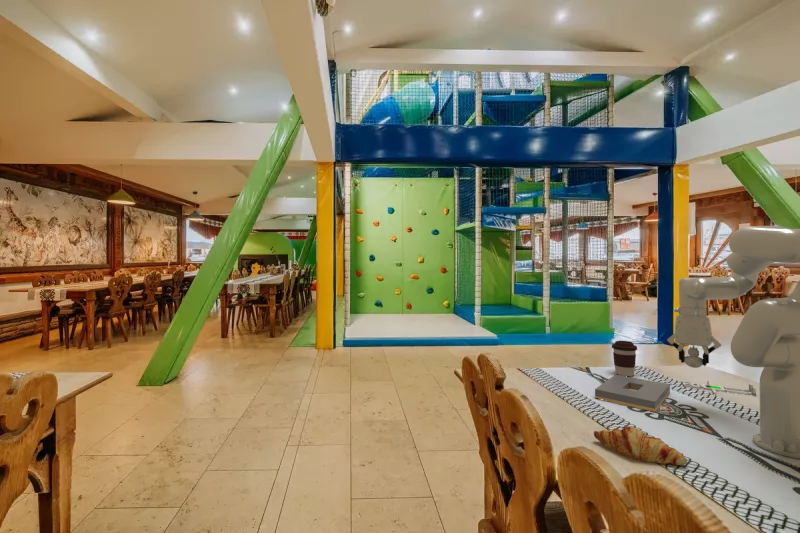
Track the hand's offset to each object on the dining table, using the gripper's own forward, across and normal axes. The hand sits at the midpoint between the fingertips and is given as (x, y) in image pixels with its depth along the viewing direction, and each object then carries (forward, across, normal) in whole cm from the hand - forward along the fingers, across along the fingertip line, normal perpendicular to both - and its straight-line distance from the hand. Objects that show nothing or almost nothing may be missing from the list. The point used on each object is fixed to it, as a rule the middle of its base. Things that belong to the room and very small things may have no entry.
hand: (693, 363), depth 132 cm
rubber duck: (+2, 0, 0) cm, 2 cm away
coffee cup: (+15, -28, +26) cm, 41 cm away
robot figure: (+16, +4, +28) cm, 33 cm away
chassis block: (+15, -18, -3) cm, 24 cm away
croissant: (+16, -6, -52) cm, 55 cm away
